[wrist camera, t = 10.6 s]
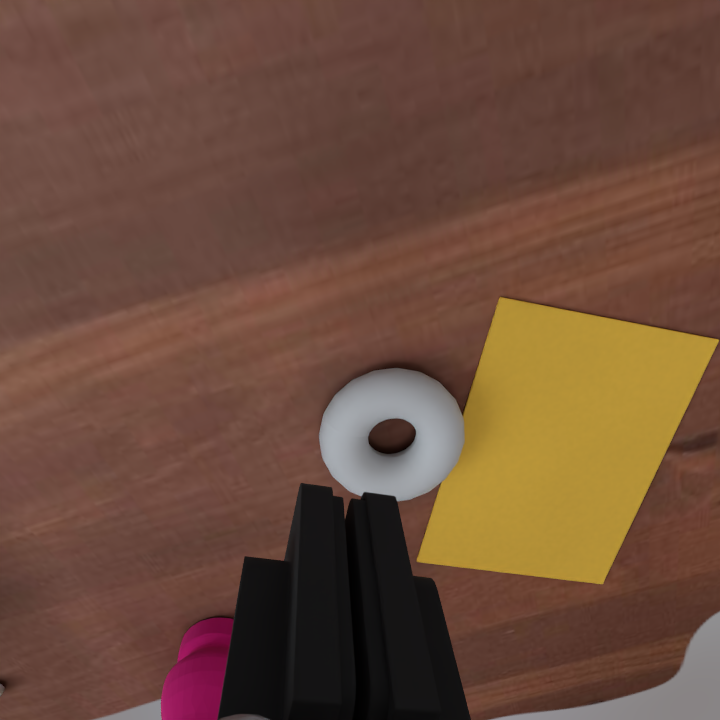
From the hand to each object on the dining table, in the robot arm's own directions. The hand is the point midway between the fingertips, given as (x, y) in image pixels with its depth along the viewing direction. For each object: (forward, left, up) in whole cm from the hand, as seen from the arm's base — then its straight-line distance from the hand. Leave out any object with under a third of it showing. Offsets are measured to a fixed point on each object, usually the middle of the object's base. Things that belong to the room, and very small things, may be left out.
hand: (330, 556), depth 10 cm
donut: (+12, +7, -28) cm, 31 cm away
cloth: (+12, +20, -27) cm, 36 cm away
